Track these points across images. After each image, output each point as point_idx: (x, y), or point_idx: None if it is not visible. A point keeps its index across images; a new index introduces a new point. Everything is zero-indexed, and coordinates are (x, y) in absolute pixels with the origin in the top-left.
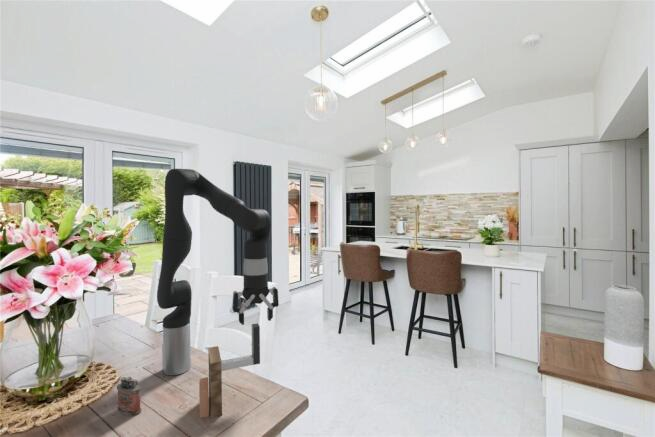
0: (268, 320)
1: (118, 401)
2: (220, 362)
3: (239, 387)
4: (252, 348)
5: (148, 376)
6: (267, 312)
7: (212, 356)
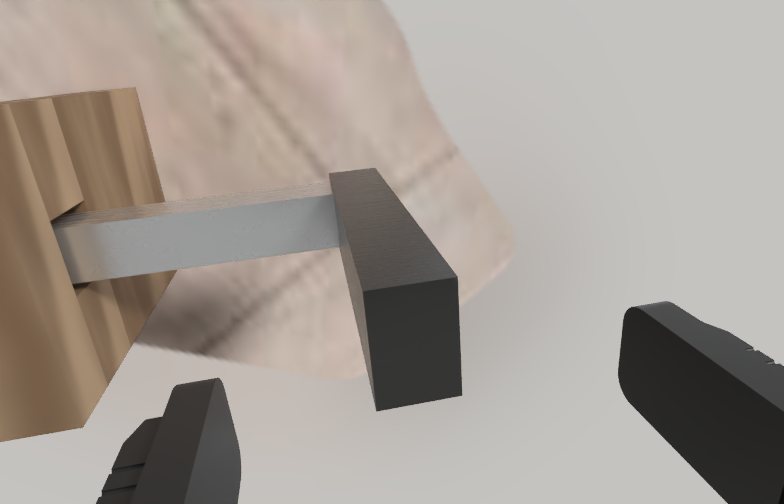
0: (619, 365)
1: None
2: (78, 423)
3: (249, 50)
4: (340, 233)
5: None
6: (709, 368)
7: None
